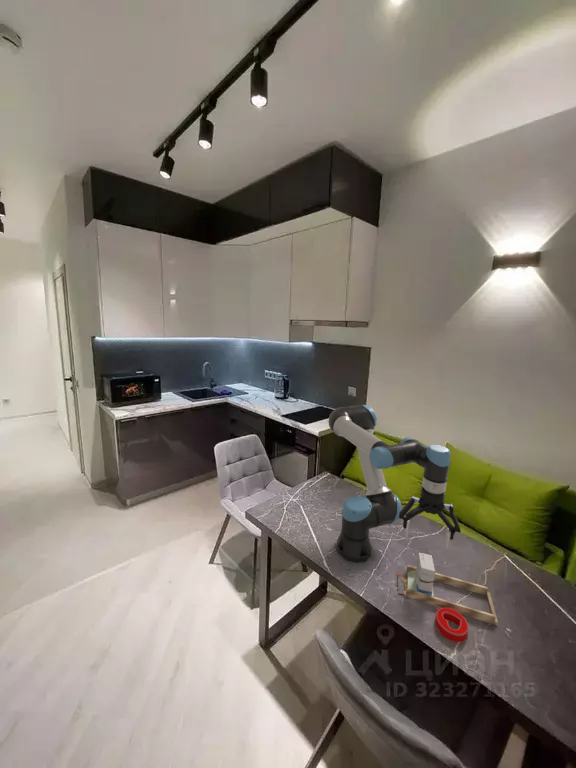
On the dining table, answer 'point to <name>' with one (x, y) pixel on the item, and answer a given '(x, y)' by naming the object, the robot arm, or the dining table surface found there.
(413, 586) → the front pad
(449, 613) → the decorative ornament
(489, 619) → the bay
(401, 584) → the chocolate bar
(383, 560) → the dining table surface
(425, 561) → the ink box
